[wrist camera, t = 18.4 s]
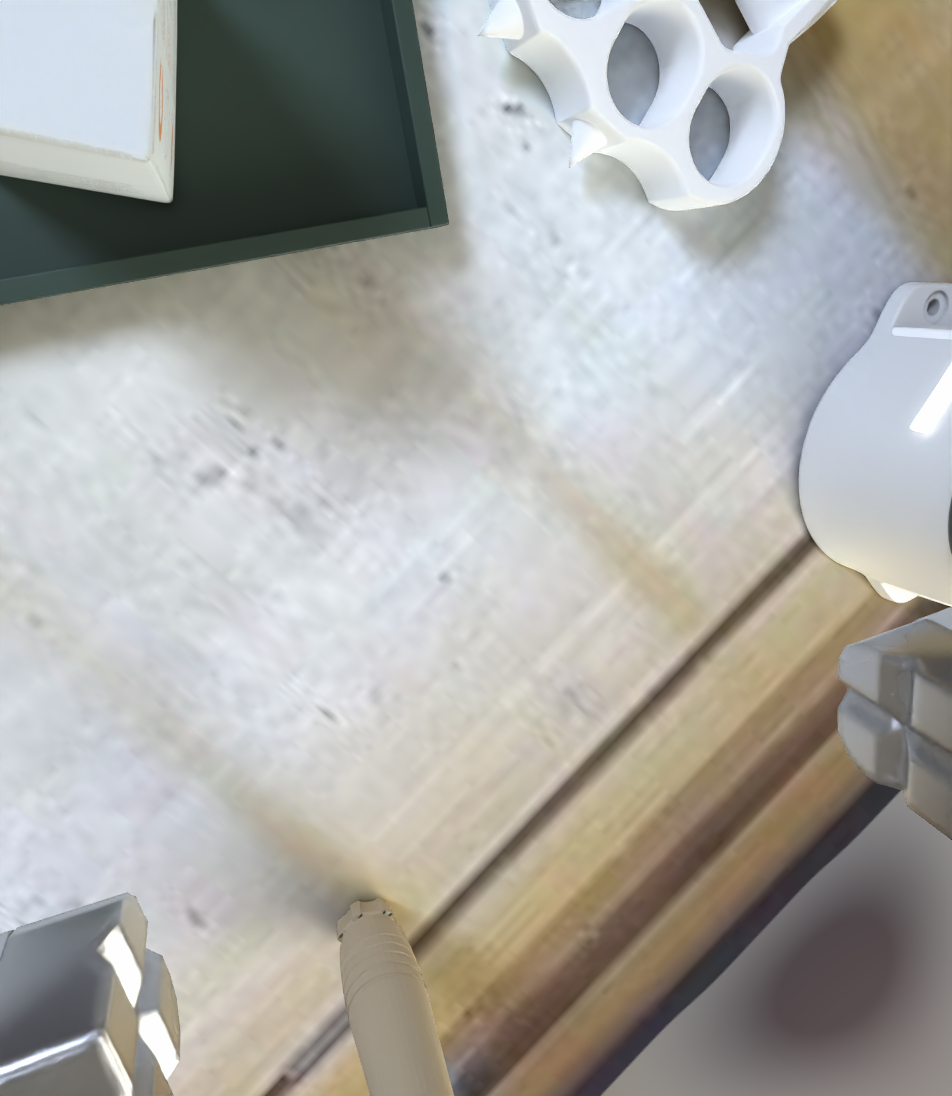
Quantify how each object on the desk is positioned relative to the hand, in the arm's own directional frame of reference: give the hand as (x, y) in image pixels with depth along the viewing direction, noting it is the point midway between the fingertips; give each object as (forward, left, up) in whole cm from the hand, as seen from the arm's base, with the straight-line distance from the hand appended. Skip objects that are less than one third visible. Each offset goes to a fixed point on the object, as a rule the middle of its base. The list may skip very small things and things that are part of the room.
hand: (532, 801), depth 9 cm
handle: (+3, +28, -28) cm, 40 cm away
